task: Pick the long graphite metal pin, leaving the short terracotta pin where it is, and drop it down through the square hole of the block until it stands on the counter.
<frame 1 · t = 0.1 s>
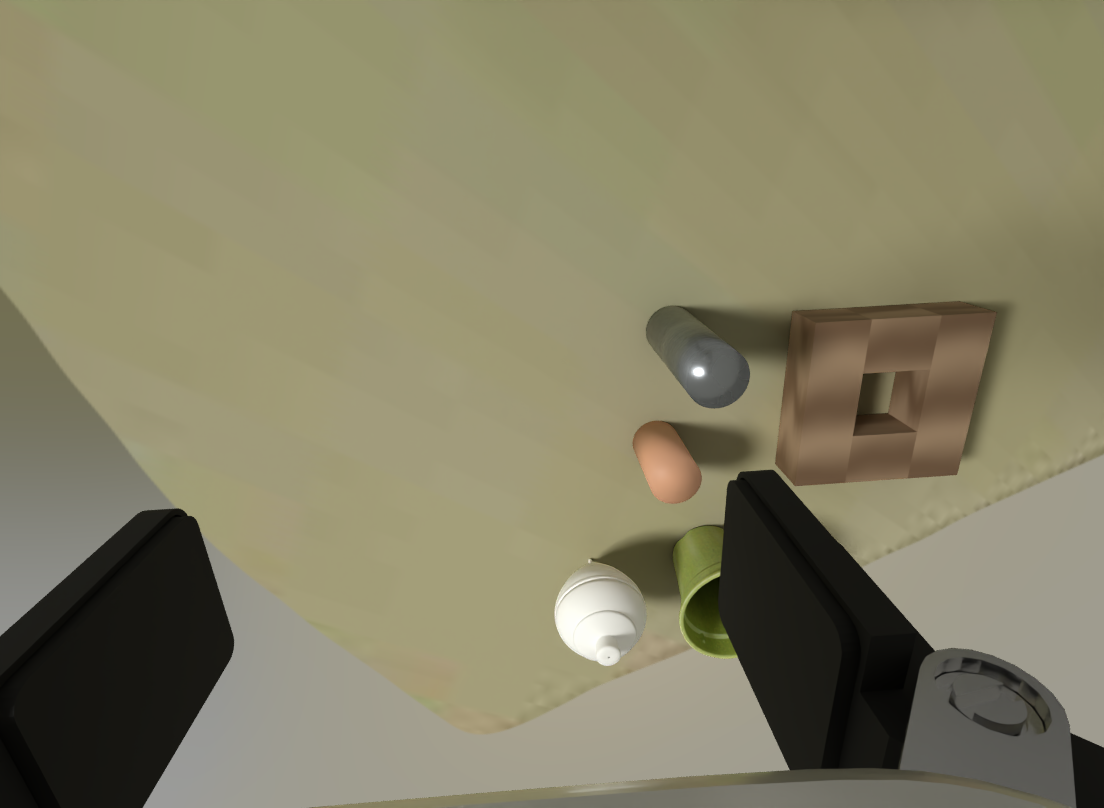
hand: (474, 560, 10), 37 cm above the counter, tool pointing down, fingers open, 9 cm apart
socket block: (862, 386, 50), on the counter
short pin: (655, 441, 51), on the counter
long pin: (670, 330, 47), on the counter
plant pot: (703, 550, 56), on the counter
spinning top: (589, 558, 55), on the counter
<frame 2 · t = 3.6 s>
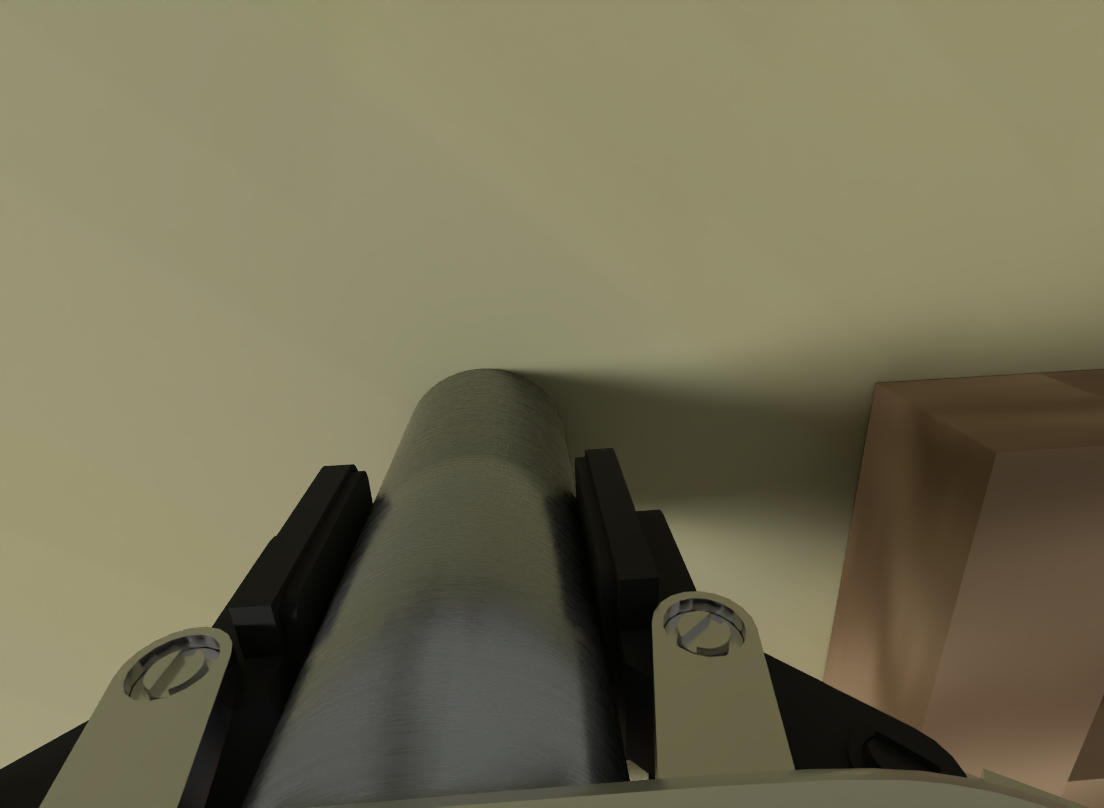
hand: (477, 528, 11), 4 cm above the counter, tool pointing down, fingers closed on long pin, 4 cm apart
socket block: (1061, 585, 18), on the counter
long pin: (486, 443, 15), on the counter, touching gripper
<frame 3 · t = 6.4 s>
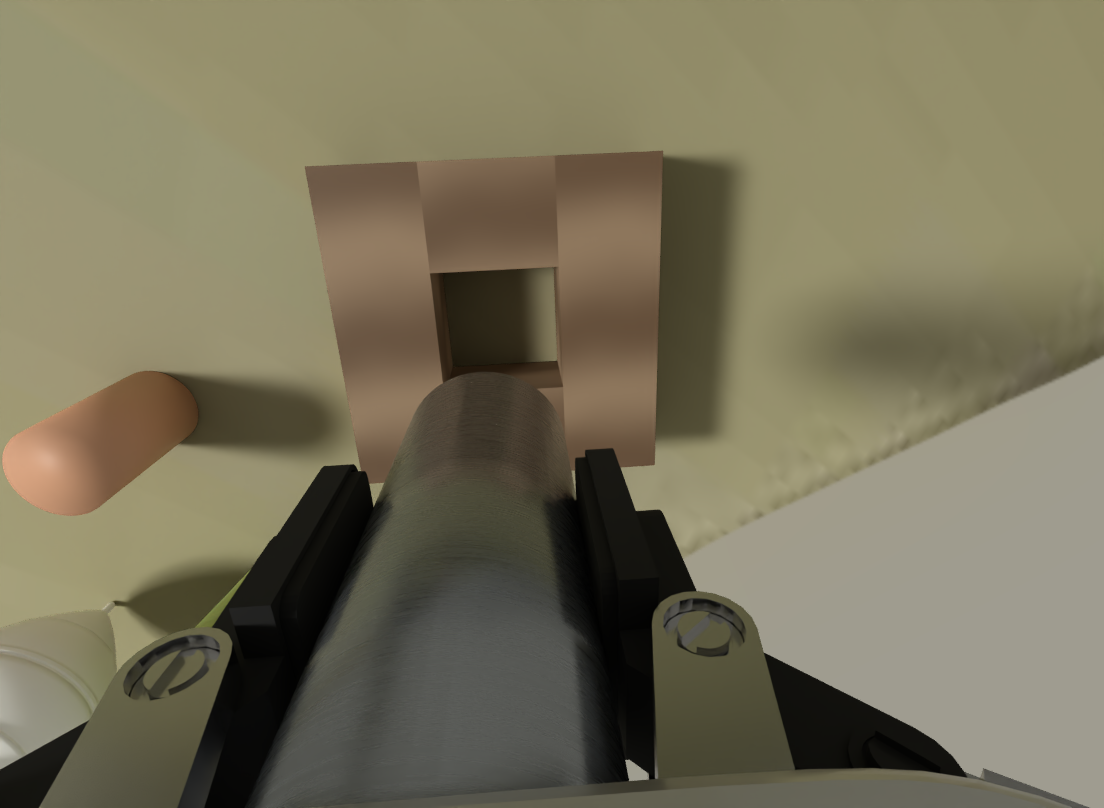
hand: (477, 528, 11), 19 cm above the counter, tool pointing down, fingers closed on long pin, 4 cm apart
socket block: (501, 312, 29), on the counter
short pin: (157, 407, 30), on the counter
long pin: (487, 446, 15), point 15 cm above the counter, touching gripper
plant pot: (304, 587, 35), on the counter
spinning top: (115, 601, 34), on the counter
when the fingers open (6 cm above the counter, at t = 9.4 s): long pin drops 2 cm, resting in socket block.
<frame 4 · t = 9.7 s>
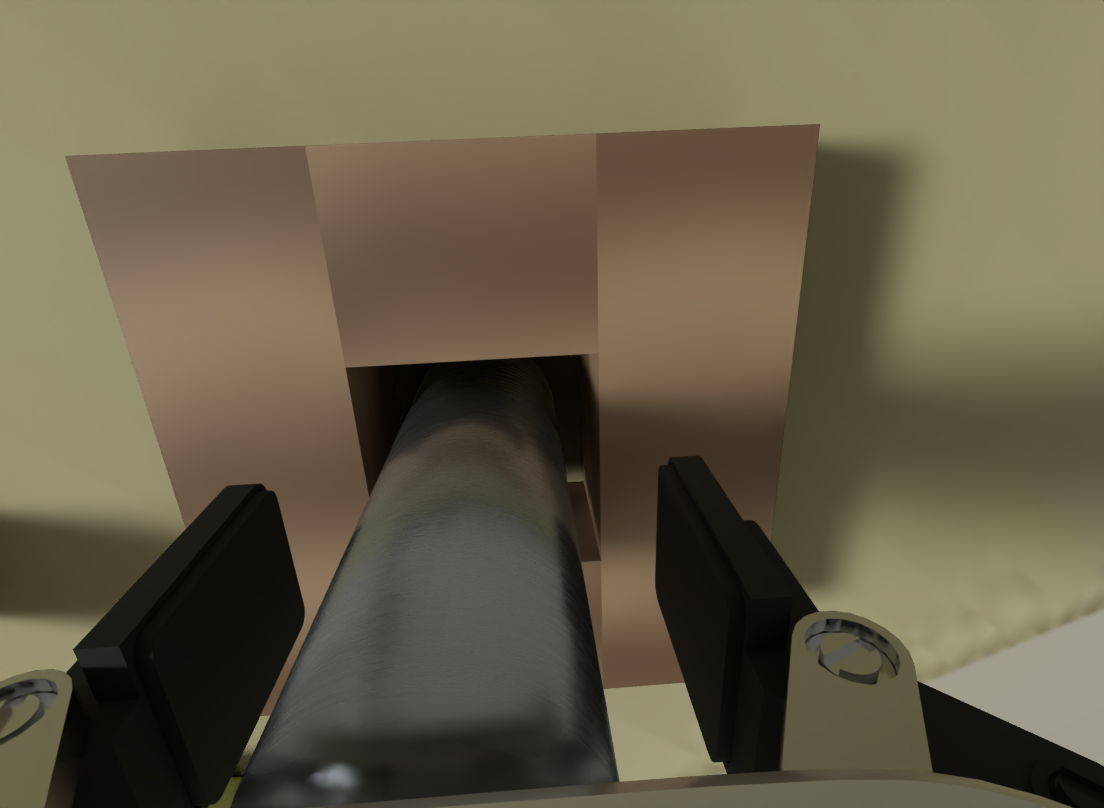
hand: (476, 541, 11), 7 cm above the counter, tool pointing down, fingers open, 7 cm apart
socket block: (490, 407, 17), on the counter
long pin: (485, 407, 17), resting in socket block
plant pot: (192, 802, 23), on the counter
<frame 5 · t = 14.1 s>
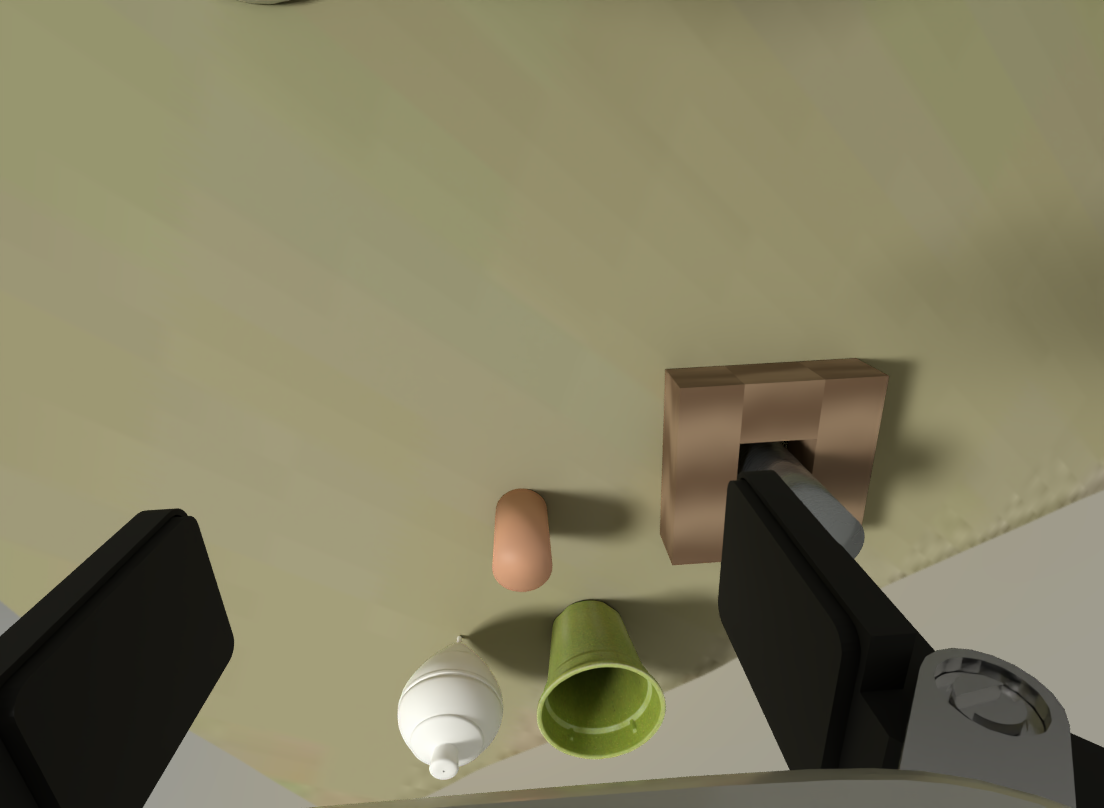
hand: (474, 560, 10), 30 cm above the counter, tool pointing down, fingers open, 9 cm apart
socket block: (752, 450, 44), on the counter
short pin: (521, 511, 45), on the counter
long pin: (751, 450, 44), resting in socket block
plant pot: (587, 625, 50), on the counter
spinning top: (460, 635, 49), on the counter
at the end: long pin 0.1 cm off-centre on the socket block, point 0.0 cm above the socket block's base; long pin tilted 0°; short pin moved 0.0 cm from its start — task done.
